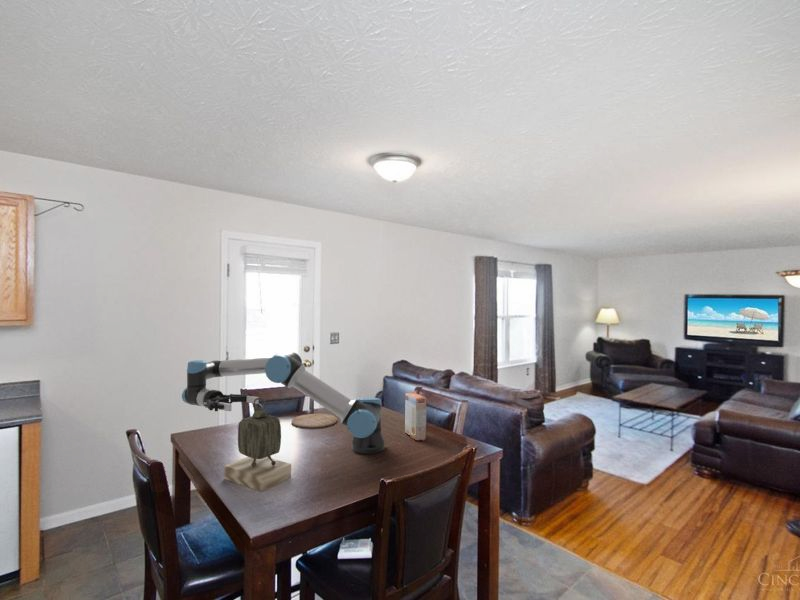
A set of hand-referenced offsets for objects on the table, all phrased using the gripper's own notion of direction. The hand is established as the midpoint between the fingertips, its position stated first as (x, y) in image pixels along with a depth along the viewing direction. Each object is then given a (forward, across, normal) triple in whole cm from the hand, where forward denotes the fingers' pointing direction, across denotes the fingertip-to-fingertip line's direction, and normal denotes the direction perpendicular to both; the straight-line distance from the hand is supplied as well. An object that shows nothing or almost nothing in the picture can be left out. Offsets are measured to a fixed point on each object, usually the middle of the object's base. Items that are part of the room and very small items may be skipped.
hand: (244, 404), depth 162 cm
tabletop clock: (+14, +5, -20) cm, 25 cm away
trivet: (-18, -63, -26) cm, 70 cm away
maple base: (+14, +5, -25) cm, 29 cm away
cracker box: (+44, -68, -26) cm, 85 cm away
